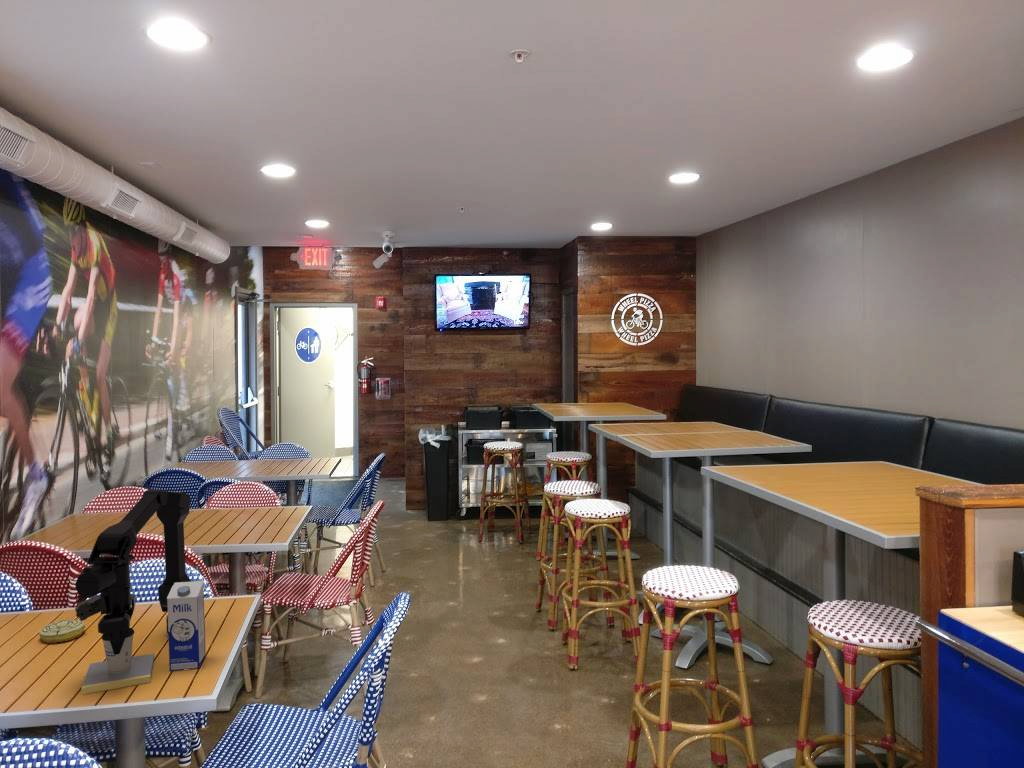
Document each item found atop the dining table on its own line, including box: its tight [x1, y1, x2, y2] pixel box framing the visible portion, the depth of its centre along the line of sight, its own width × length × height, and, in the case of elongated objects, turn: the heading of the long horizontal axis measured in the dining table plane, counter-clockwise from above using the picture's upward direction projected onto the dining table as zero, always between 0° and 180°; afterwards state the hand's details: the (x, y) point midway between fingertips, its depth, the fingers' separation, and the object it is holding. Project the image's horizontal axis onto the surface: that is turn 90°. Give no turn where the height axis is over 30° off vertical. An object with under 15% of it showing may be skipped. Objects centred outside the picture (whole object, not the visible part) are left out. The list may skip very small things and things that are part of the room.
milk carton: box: [167, 580, 206, 672], centre depth 176 cm, size 7×7×20 cm
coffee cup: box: [101, 627, 135, 674], centre depth 170 cm, size 7×7×10 cm
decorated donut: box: [38, 619, 86, 644], centre depth 195 cm, size 10×11×4 cm
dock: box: [81, 653, 155, 695], centre depth 171 cm, size 14×14×2 cm
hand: (118, 647), depth 170 cm, fingers open, 8 cm apart
